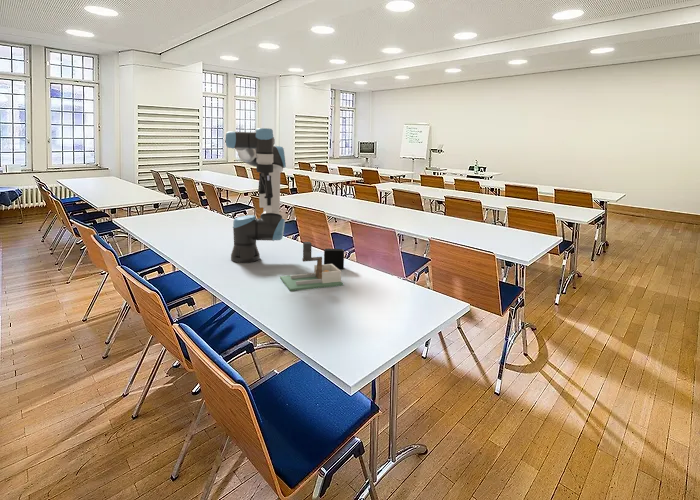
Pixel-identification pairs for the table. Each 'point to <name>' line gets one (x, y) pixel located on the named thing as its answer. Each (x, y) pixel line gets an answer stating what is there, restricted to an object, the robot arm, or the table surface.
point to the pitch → (314, 279)
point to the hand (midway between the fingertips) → (265, 210)
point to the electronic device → (334, 257)
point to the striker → (312, 258)
